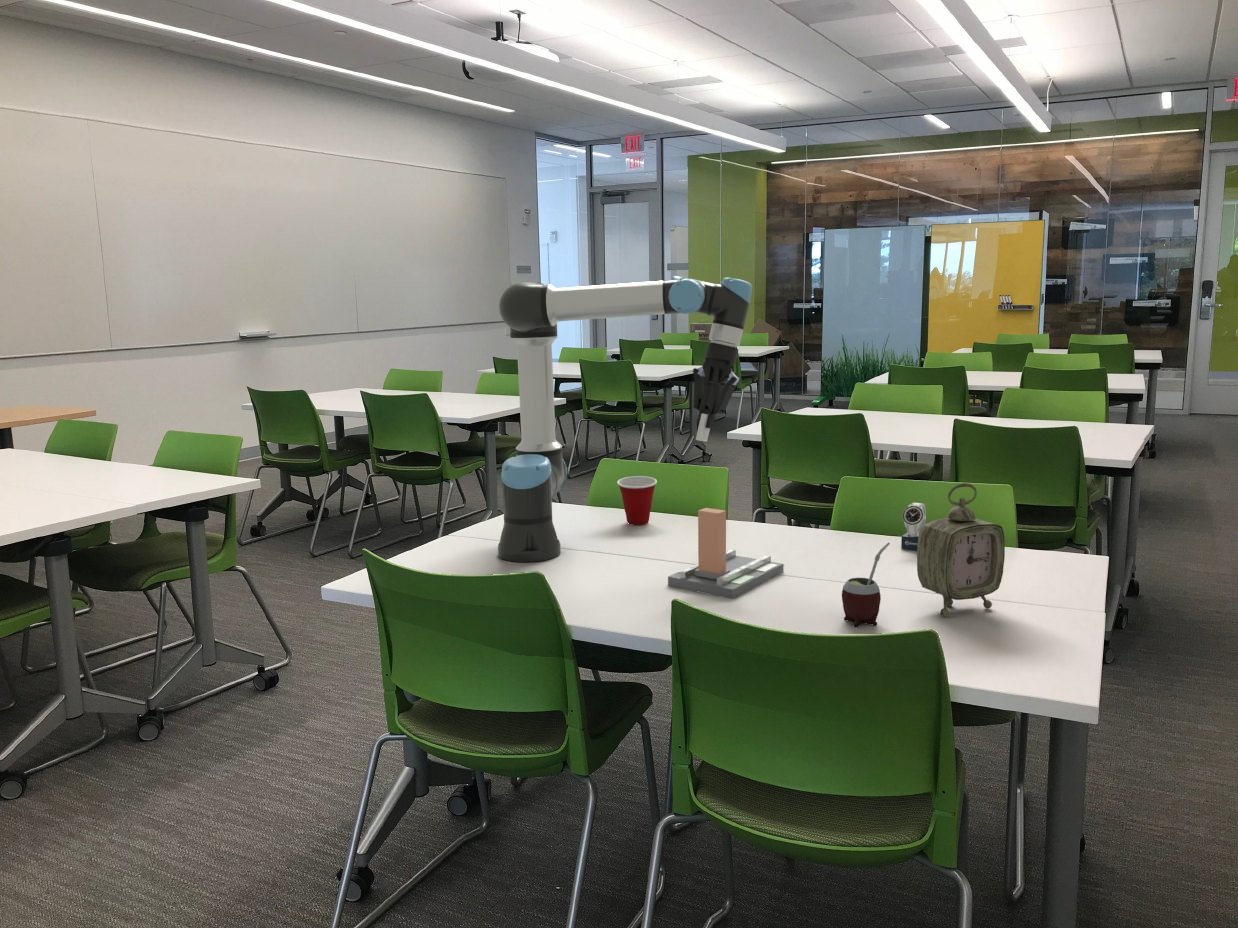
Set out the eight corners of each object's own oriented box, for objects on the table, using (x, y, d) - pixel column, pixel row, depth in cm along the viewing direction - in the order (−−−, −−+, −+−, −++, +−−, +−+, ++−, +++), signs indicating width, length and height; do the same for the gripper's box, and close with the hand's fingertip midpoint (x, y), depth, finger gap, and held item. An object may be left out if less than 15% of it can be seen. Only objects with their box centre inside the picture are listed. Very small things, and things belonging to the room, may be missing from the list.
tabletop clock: (943, 621, 178) (948, 491, 174) (910, 607, 186) (915, 482, 182) (1001, 609, 184) (1008, 483, 179) (967, 596, 192) (973, 475, 188)
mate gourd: (836, 624, 178) (837, 547, 175) (849, 612, 184) (851, 537, 182) (875, 631, 174) (877, 552, 171) (888, 618, 180) (890, 542, 178)
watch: (898, 550, 226) (899, 505, 224) (909, 542, 233) (910, 499, 231) (922, 553, 223) (923, 508, 221) (932, 546, 230) (934, 501, 228)
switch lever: (694, 575, 202) (694, 510, 200) (704, 570, 205) (704, 506, 203) (720, 580, 198) (720, 514, 196) (730, 575, 202) (730, 510, 199)
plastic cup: (614, 527, 254) (613, 483, 252) (621, 518, 264) (620, 475, 262) (655, 528, 252) (654, 484, 250) (660, 518, 262) (659, 476, 260)
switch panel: (668, 585, 203) (667, 569, 203) (721, 561, 220) (721, 546, 220) (732, 598, 194) (732, 582, 193) (783, 572, 211) (783, 557, 210)
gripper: (754, 351, 225) (731, 447, 227) (711, 342, 233) (689, 436, 235) (737, 346, 219) (713, 445, 221) (693, 337, 227) (671, 433, 230)
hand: (701, 440), depth 228 cm, fingers closed
